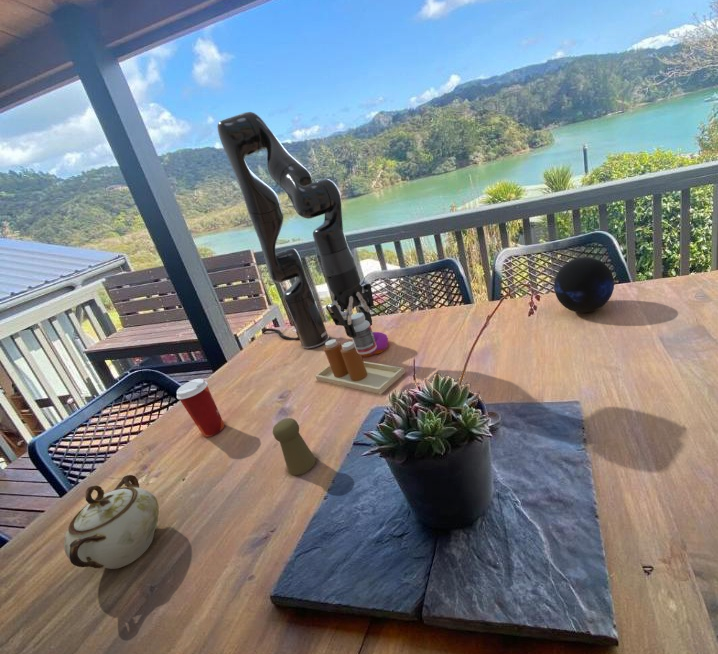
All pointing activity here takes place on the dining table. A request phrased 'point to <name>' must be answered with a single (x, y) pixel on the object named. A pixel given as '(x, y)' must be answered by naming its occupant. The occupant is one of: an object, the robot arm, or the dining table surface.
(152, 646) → the dining table surface
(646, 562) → the dining table surface
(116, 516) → the sugar bowl
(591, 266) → the decorative sphere
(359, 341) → the pill bottle
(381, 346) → the donut
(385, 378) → the tray
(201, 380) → the paper cup
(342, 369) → the amber bottle far
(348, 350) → the amber bottle middle
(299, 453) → the olive green pawn
